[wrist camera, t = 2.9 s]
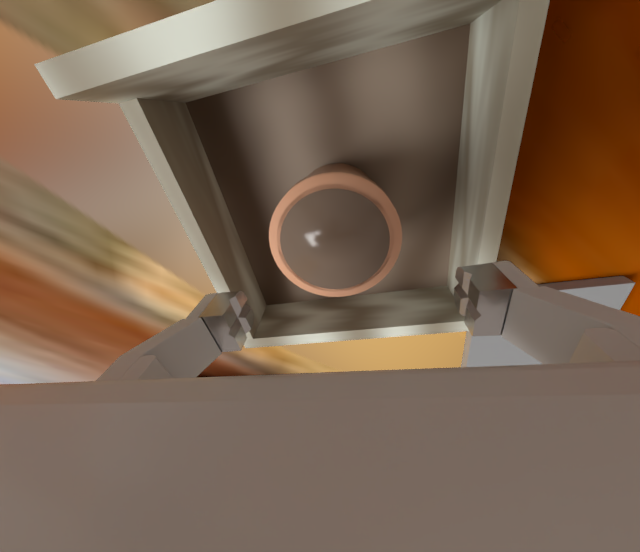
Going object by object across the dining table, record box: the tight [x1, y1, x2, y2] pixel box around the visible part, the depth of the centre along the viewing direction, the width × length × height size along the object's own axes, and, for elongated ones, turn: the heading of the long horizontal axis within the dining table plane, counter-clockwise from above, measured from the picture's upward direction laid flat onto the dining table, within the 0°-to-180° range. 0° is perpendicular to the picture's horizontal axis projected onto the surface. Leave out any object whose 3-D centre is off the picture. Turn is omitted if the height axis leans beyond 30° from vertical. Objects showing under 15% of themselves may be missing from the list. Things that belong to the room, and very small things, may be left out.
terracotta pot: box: [269, 163, 402, 297], centre depth 15 cm, size 7×7×6 cm
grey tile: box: [461, 276, 635, 367], centre depth 23 cm, size 11×11×1 cm
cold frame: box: [35, 0, 550, 348], centre depth 15 cm, size 18×18×8 cm
